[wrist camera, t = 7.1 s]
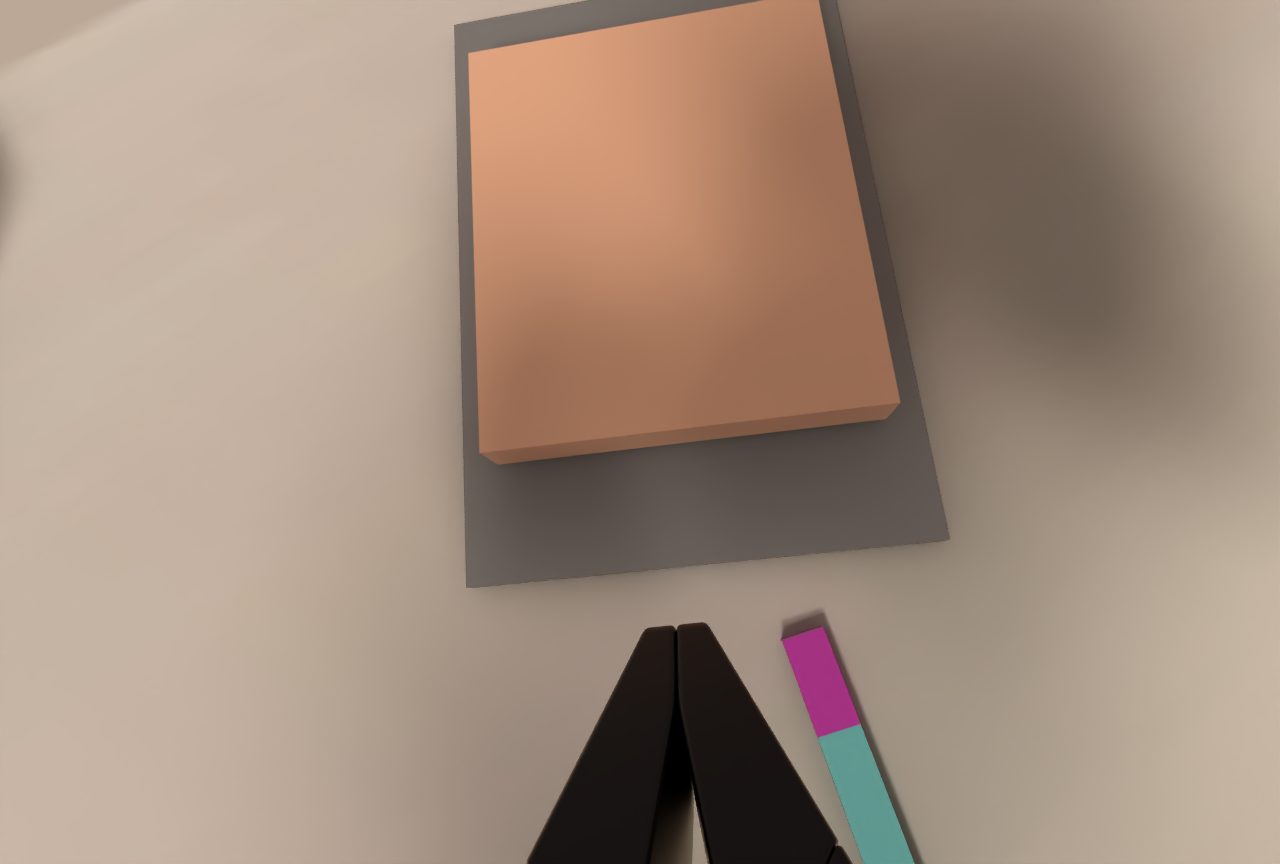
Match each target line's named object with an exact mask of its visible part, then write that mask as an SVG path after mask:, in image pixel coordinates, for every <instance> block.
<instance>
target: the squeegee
mask: <svg viewBox="0 0 1280 864" xmlns="http://www.w3.org/2000/svg"><path fill="white" fill-rule="evenodd" d="M781 641H783V644H784V647H785V650H786V652H787V655H788V658H789V660H790V663H791V666H792V669H793V671H794V674H795V677H796V680H797V682H798V685H799V688H800V691H801V693H802V696H803V699H804V702H805V704H806V707H807V710H808V712H809V715H810V718H811V721H812V723H813V726H814V729H815V732H816V734H817V737H818V740H819V743H820V745H821V748H822V751H823V754H824V756H825V759H826V762H827V765H828V767H829V770H830V773H831V775H832V778H833V781H834V784H835V786H836V789H837V792H838V795H839V797H840V800H841V803H842V806H843V808H844V811H845V814H846V817H847V819H848V822H849V825H850V827H851V830H852V833H853V836H854V838H855V841H856V844H857V847H858V849H859V852H860V855H861V858H862V860H863V863H864V864H915V863H914V861H913V858H912V855H911V853H910V850H909V848H908V845H907V843H906V840H905V837H904V835H903V832H902V830H901V827H900V824H899V822H898V819H897V817H896V814H895V811H894V809H893V806H892V804H891V801H890V799H889V796H888V793H887V791H886V788H885V786H884V783H883V780H882V778H881V775H880V773H879V770H878V767H877V765H876V762H875V760H874V757H873V755H872V752H871V749H870V747H869V744H868V742H867V739H866V737H865V734H864V731H863V729H862V726H861V723H860V721H859V718H858V716H857V713H856V711H855V708H854V705H853V703H852V700H851V698H850V695H849V692H848V690H847V687H846V685H845V682H844V679H843V677H842V674H841V672H840V669H839V667H838V664H837V661H836V659H835V656H834V654H833V651H832V648H831V646H830V643H829V641H828V638H827V635H826V633H825V630H824V628H823V626H820V627H817V628H814V629H811V630H808V631H805V632H802V633H799V634H796V635H793V636H790V637H787V638H784V639H781Z"/></svg>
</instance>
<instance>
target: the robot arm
mask: <svg viewBox="0 0 1280 864" xmlns="http://www.w3.org/2000/svg"><path fill="white" fill-rule="evenodd" d="M693 790H694V795H693ZM694 796H695V801H696V806H697V812H698V817H699V822H700V827H701V832H702V837H703V842H704V847H705V852H706V857H707V863H708V864H853V863H852V862H851V860H850V858H849V857H848V855H847V853H846V852H845V850H844V849H843V847H842V846H838V839H837V838H836V836H835V834H834V833H833V831H832V829H831V828H830V826H829V824H828V823H827V821H826V819H825V818H824V816H823V814H822V813H821V811H820V809H819V808H818V806H817V804H816V803H815V801H814V799H813V798H812V796H811V794H810V793H809V791H808V790H807V788H806V786H805V785H804V783H803V781H802V780H801V778H800V776H799V775H798V773H797V771H796V770H795V768H794V766H793V765H792V763H791V761H790V760H789V758H788V756H787V755H786V753H785V751H784V750H783V748H782V746H781V745H780V743H779V741H778V740H777V738H776V737H775V735H774V733H773V732H772V730H771V728H770V727H769V725H768V723H767V722H766V720H765V718H764V717H763V715H762V713H761V712H760V710H759V708H758V707H757V705H756V703H755V702H754V700H753V698H752V697H751V695H750V693H749V692H748V690H747V688H746V687H745V685H744V684H743V682H742V680H741V679H740V677H739V675H738V674H737V672H736V670H735V669H734V667H733V665H732V664H731V662H730V660H729V659H728V657H727V655H726V654H725V652H724V650H723V649H722V647H721V645H720V644H719V642H718V640H717V639H716V637H715V635H714V634H713V632H712V631H711V629H710V627H709V626H708V625H707V624H706V623H692V624H682V625H679V626H678V627H677V630H676V629H675V628H674V627H673V626H662V627H652V628H647V629H646V630H645V631H644V632H643V634H642V635H641V637H640V639H639V641H638V643H637V645H636V647H635V649H634V651H633V653H632V655H631V657H630V659H629V661H628V663H627V665H626V667H625V669H624V671H623V673H622V675H621V677H620V679H619V681H618V683H617V684H616V686H615V688H614V690H613V692H612V694H611V696H610V698H609V700H608V702H607V704H606V706H605V708H604V710H603V712H602V714H601V716H600V718H599V720H598V722H597V724H596V726H595V728H594V730H593V732H592V734H591V736H590V738H589V740H588V741H587V743H586V745H585V747H584V749H583V751H582V753H581V755H580V757H579V759H578V761H577V763H576V765H575V767H574V769H573V771H572V773H571V775H570V777H569V779H568V781H567V783H566V785H565V787H564V789H563V791H562V793H561V795H560V796H559V798H558V800H557V802H556V804H555V806H554V808H553V810H552V812H551V814H550V816H549V818H548V820H547V822H546V824H545V826H544V828H543V830H542V832H541V834H540V836H539V838H538V840H537V842H536V844H535V846H534V848H533V850H532V852H531V853H530V855H529V857H528V859H527V864H692V848H693V817H694Z"/></svg>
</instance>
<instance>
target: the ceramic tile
mask: <svg viewBox="0 0 1280 864" xmlns="http://www.w3.org/2000/svg"><path fill="white" fill-rule="evenodd" d="M468 61H469V97H470V133H471V169H472V205H473V241H474V277H475V312H476V348H477V384H478V420H479V453H480V454H482V455H483V456H485V457H487V458H488V459H490V460H491V461H493V462H495V463H496V464H498V465H500V464H508V463H517V462H525V461H534V460H542V459H551V458H559V457H568V456H576V455H585V454H593V453H602V452H610V451H619V450H627V449H636V448H644V447H653V446H661V445H670V444H678V443H687V442H695V441H704V440H712V439H721V438H729V437H738V436H746V435H755V434H763V433H772V432H780V431H789V430H797V429H806V428H814V427H823V426H831V425H840V424H848V423H857V422H865V421H874V420H882V419H887V417H888V416H889V415H890V414H891V413H892V412H893V411H894V410H895V408H896V407H897V406H898V405H899V404H900V398H899V393H898V388H897V383H896V378H895V373H894V368H893V363H892V359H891V354H890V349H889V344H888V339H887V334H886V329H885V324H884V319H883V314H882V309H881V304H880V300H879V295H878V290H877V285H876V280H875V275H874V270H873V265H872V260H871V255H870V250H869V245H868V241H867V236H866V231H865V226H864V221H863V216H862V211H861V206H860V201H859V196H858V191H857V186H856V181H855V177H854V172H853V167H852V162H851V157H850V152H849V147H848V142H847V137H846V132H845V127H844V122H843V118H842V113H841V108H840V103H839V98H838V93H837V88H836V83H835V78H834V73H833V68H832V63H831V59H830V54H829V49H828V44H827V39H826V34H825V29H824V24H823V19H822V14H821V9H820V4H819V0H762V1H757V2H751V3H746V4H740V5H734V6H729V7H723V8H718V9H712V10H706V11H701V12H695V13H690V14H684V15H679V16H673V17H667V18H662V19H656V20H651V21H645V22H639V23H634V24H628V25H623V26H617V27H612V28H606V29H600V30H595V31H589V32H584V33H578V34H572V35H567V36H561V37H556V38H550V39H545V40H539V41H533V42H528V43H522V44H517V45H511V46H505V47H500V48H494V49H489V50H483V51H478V52H472V53H468Z"/></svg>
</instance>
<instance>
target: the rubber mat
mask: <svg viewBox="0 0 1280 864" xmlns="http://www.w3.org/2000/svg"><path fill="white" fill-rule="evenodd" d="M757 1H762V0H588V1H582V2H577V3H571V4H566V5H560V6H555V7H550V8H544V9H539V10H533V11H528V12H522V13H517V14H511V15H506V16H501V17H495V18H490V19H484V20H479V21H473V22H468V23H462V24H457V25H454V36H455V83H456V130H457V177H458V224H459V271H460V317H461V364H462V411H463V458H464V505H465V552H466V588H475V587H485V586H495V585H505V584H515V583H525V582H536V581H546V580H556V579H566V578H576V577H586V576H596V575H606V574H616V573H626V572H636V571H646V570H656V569H666V568H676V567H686V566H696V565H706V564H716V563H726V562H736V561H746V560H756V559H766V558H776V557H786V556H796V555H806V554H816V553H826V552H836V551H846V550H856V549H866V548H877V547H887V546H897V545H907V544H917V543H927V542H937V541H945V540H949V539H950V537H949V533H948V528H947V523H946V518H945V514H944V509H943V504H942V499H941V495H940V490H939V485H938V481H937V476H936V471H935V466H934V462H933V457H932V452H931V448H930V443H929V438H928V433H927V429H926V424H925V419H924V415H923V410H922V405H921V400H920V396H919V391H918V386H917V381H916V377H915V372H914V367H913V363H912V358H911V353H910V348H909V344H908V339H907V334H906V330H905V325H904V320H903V315H902V311H901V306H900V301H899V296H898V292H897V287H896V282H895V278H894V273H893V268H892V263H891V259H890V254H889V249H888V245H887V240H886V235H885V230H884V226H883V221H882V216H881V212H880V207H879V202H878V197H877V193H876V188H875V183H874V178H873V174H872V169H871V164H870V160H869V155H868V150H867V145H866V141H865V136H864V131H863V127H862V122H861V117H860V112H859V108H858V103H857V98H856V93H855V89H854V84H853V79H852V75H851V70H850V65H849V60H848V56H847V51H846V46H845V42H844V37H843V32H842V27H841V23H840V18H839V13H838V9H837V4H836V0H819V4H820V9H821V14H822V19H823V24H824V29H825V34H826V39H827V44H828V49H829V54H830V59H831V63H832V68H833V73H834V78H835V83H836V88H837V93H838V98H839V103H840V108H841V113H842V118H843V122H844V127H845V132H846V137H847V142H848V147H849V152H850V157H851V162H852V167H853V172H854V177H855V181H856V186H857V191H858V196H859V201H860V206H861V211H862V216H863V221H864V226H865V231H866V236H867V241H868V245H869V250H870V255H871V260H872V265H873V270H874V275H875V280H876V285H877V290H878V295H879V300H880V304H881V309H882V314H883V319H884V324H885V329H886V334H887V339H888V344H889V349H890V354H891V359H892V363H893V368H894V373H895V378H896V383H897V388H898V393H899V398H900V404H899V405H898V406H897V407H896V408H895V410H894V411H893V412H892V413H891V414H890V415H889V416H888V417H887V419H882V420H874V421H865V422H857V423H848V424H840V425H831V426H823V427H814V428H806V429H797V430H789V431H780V432H772V433H763V434H755V435H746V436H738V437H729V438H721V439H712V440H704V441H695V442H687V443H678V444H670V445H661V446H653V447H644V448H636V449H627V450H619V451H610V452H602V453H593V454H585V455H576V456H568V457H559V458H551V459H542V460H534V461H525V462H517V463H508V464H500V465H498V464H496V463H495V462H493V461H491V460H490V459H488V458H487V457H485V456H483V455H482V454H480V453H479V420H478V384H477V348H476V312H475V277H474V241H473V205H472V169H471V133H470V97H469V61H468V53H472V52H478V51H483V50H489V49H494V48H500V47H505V46H511V45H517V44H522V43H528V42H533V41H539V40H545V39H550V38H556V37H561V36H567V35H572V34H578V33H584V32H589V31H595V30H600V29H606V28H612V27H617V26H623V25H628V24H634V23H639V22H645V21H651V20H656V19H662V18H667V17H673V16H679V15H684V14H690V13H695V12H701V11H706V10H712V9H718V8H723V7H729V6H734V5H740V4H746V3H751V2H757Z"/></svg>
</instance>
